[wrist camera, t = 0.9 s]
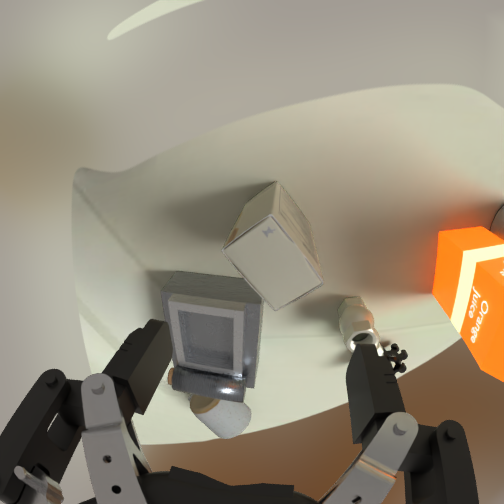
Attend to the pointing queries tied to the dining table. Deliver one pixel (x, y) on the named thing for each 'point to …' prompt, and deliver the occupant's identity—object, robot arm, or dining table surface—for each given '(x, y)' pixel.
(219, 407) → the ceramic mug
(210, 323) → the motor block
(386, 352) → the valve
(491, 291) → the orange juice
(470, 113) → the dining table surface
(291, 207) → the skincare box
